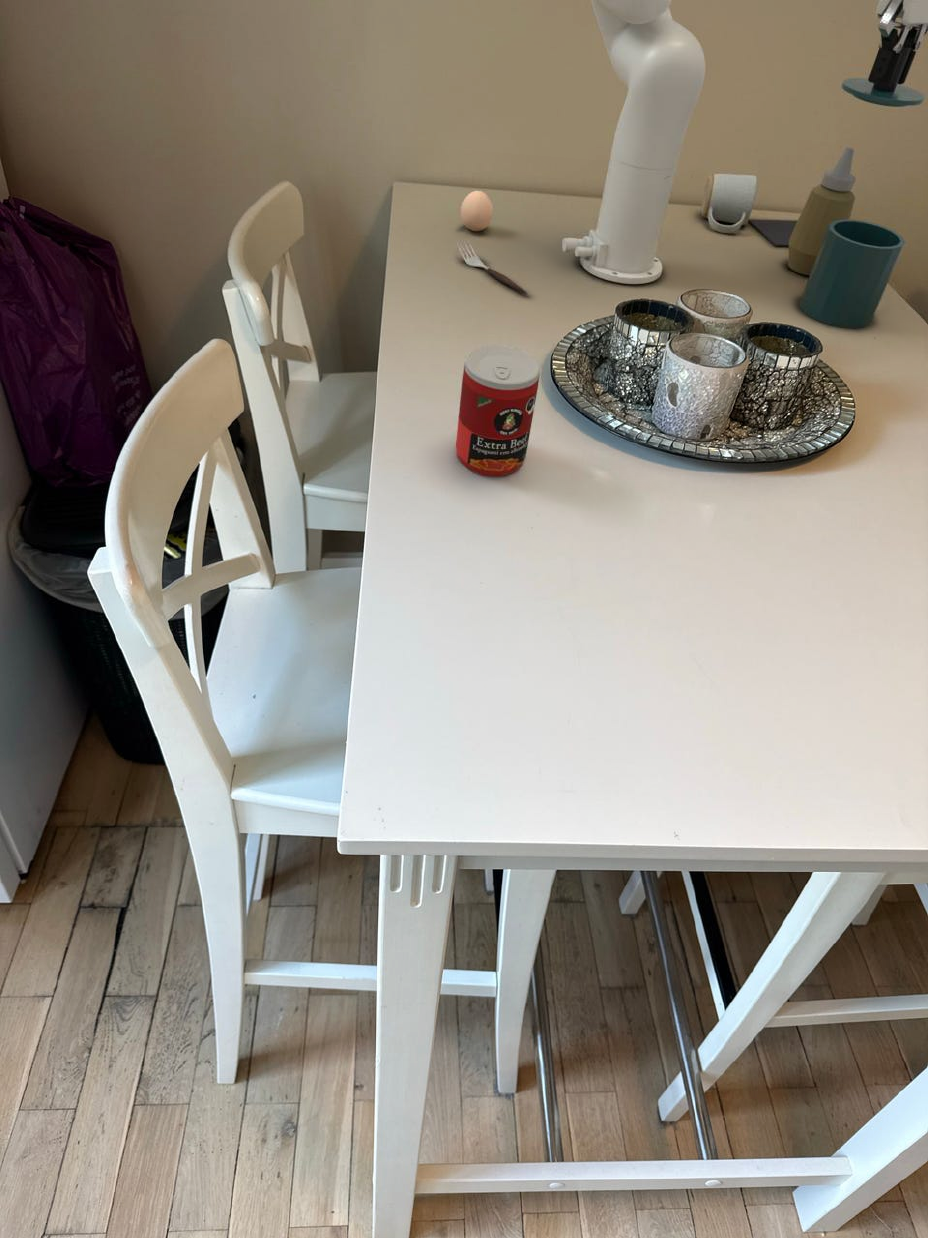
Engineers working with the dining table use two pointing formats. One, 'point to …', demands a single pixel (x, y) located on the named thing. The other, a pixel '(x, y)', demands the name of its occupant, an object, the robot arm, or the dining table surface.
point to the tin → (851, 273)
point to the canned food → (496, 409)
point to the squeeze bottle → (822, 214)
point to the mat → (775, 230)
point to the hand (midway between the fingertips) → (886, 81)
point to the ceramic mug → (728, 200)
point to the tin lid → (885, 88)
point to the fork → (478, 263)
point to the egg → (476, 211)
